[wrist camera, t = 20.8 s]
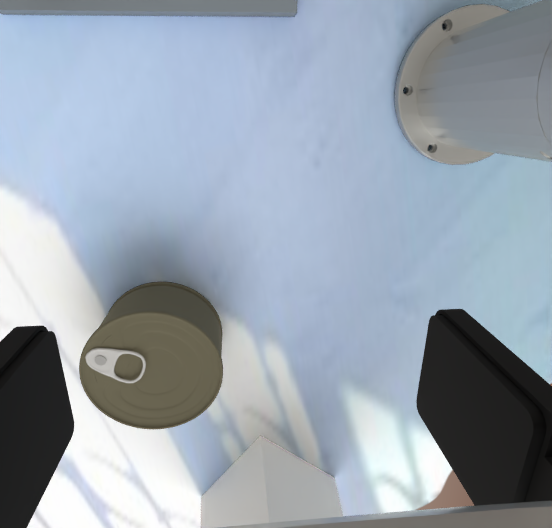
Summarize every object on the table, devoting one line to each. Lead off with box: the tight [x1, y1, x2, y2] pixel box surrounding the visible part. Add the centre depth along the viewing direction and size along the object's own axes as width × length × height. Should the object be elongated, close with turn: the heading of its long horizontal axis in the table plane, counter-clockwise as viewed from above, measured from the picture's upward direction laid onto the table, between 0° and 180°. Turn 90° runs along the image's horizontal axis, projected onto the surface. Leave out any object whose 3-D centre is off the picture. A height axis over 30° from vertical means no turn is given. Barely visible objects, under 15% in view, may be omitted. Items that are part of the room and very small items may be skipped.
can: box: [79, 282, 223, 429], centre depth 38 cm, size 12×12×7 cm
